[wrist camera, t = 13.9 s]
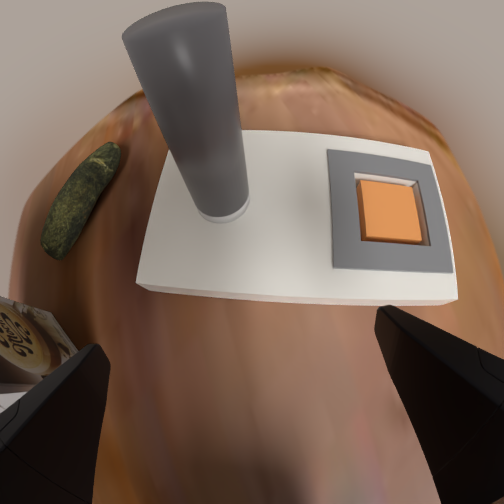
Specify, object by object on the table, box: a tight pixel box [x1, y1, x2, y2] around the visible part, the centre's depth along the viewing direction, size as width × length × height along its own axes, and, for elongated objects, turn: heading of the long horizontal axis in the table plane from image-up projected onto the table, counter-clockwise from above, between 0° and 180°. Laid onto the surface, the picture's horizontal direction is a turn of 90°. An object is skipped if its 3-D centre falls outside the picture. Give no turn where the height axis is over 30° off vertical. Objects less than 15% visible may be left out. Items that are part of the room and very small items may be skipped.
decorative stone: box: [41, 142, 121, 260], centre depth 21 cm, size 11×8×5 cm
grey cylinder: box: [122, 2, 250, 224], centre depth 14 cm, size 4×4×14 cm
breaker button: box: [356, 180, 422, 245], centre depth 20 cm, size 5×5×2 cm
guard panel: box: [136, 130, 458, 306], centre depth 21 cm, size 24×14×3 cm, turn 85°
